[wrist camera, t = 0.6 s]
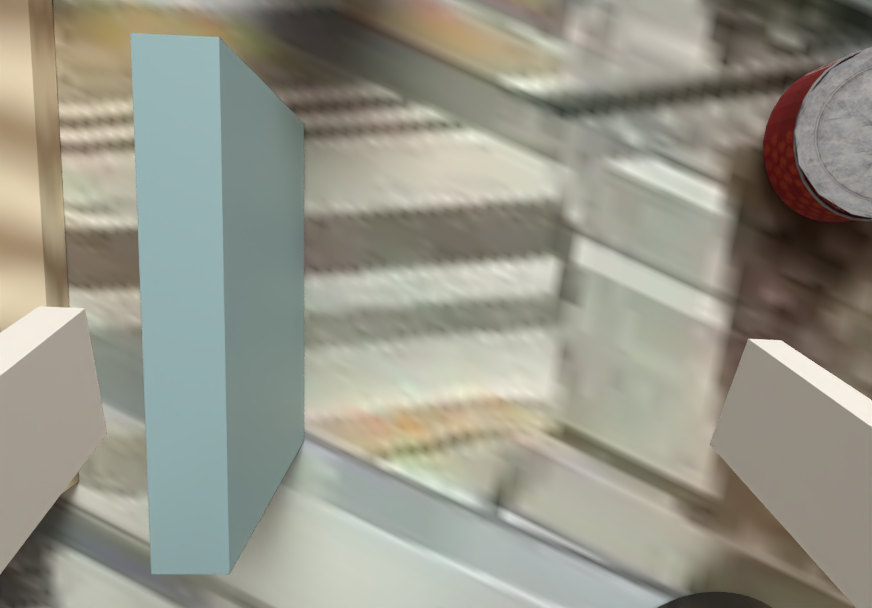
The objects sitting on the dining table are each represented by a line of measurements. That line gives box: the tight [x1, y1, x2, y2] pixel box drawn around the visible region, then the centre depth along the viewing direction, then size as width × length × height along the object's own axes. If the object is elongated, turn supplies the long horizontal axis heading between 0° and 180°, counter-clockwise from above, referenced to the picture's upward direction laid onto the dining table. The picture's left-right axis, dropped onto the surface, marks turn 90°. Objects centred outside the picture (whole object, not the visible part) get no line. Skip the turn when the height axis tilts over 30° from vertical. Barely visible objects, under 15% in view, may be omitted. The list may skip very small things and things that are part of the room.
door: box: [130, 33, 304, 575], centre depth 26 cm, size 20×3×14 cm, turn 178°
